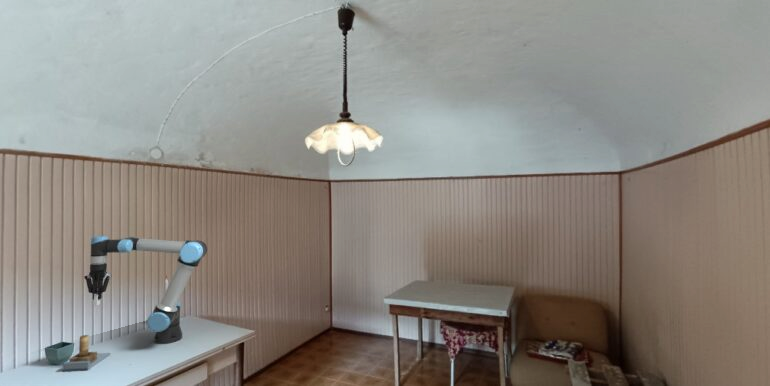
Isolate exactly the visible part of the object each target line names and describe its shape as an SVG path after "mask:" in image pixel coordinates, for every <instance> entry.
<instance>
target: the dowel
mask: <svg viewBox="0 0 770 386" xmlns="http://www.w3.org/2000/svg"><path fill="white" fill-rule="evenodd" d="M89 341H90V336H89V334H84V335H80V336H79V345H78V346H79V347H78V348H79V351H78V353H79V357H86V356H88V352H89V345H90V344H89V343H90V342H89Z"/></svg>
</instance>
